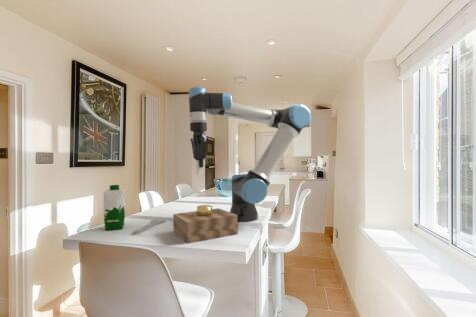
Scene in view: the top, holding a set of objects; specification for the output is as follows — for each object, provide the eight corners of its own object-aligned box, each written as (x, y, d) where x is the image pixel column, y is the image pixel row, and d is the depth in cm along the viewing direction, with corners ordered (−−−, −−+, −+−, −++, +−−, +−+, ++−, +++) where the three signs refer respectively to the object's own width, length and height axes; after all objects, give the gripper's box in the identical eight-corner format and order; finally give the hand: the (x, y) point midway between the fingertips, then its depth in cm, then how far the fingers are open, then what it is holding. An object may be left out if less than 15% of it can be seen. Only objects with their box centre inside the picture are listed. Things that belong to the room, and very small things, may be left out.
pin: (208, 229, 124) (208, 204, 123) (215, 232, 118) (214, 206, 118) (195, 231, 120) (194, 206, 120) (201, 235, 115) (200, 208, 115)
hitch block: (218, 225, 132) (218, 208, 132) (237, 233, 117) (237, 215, 117) (173, 232, 121) (173, 214, 121) (188, 243, 106) (187, 222, 106)
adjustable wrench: (137, 236, 119) (136, 232, 119) (124, 235, 120) (124, 231, 120) (167, 221, 143) (167, 218, 143) (156, 221, 144) (156, 217, 144)
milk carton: (126, 225, 136) (125, 184, 136) (123, 229, 127) (122, 186, 127) (106, 226, 134) (105, 185, 133) (102, 231, 125) (101, 187, 125)
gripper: (184, 123, 128) (186, 174, 129) (197, 120, 118) (199, 175, 118) (199, 124, 133) (201, 173, 133) (212, 121, 122) (214, 174, 122)
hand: (200, 174), depth 126 cm, fingers closed
